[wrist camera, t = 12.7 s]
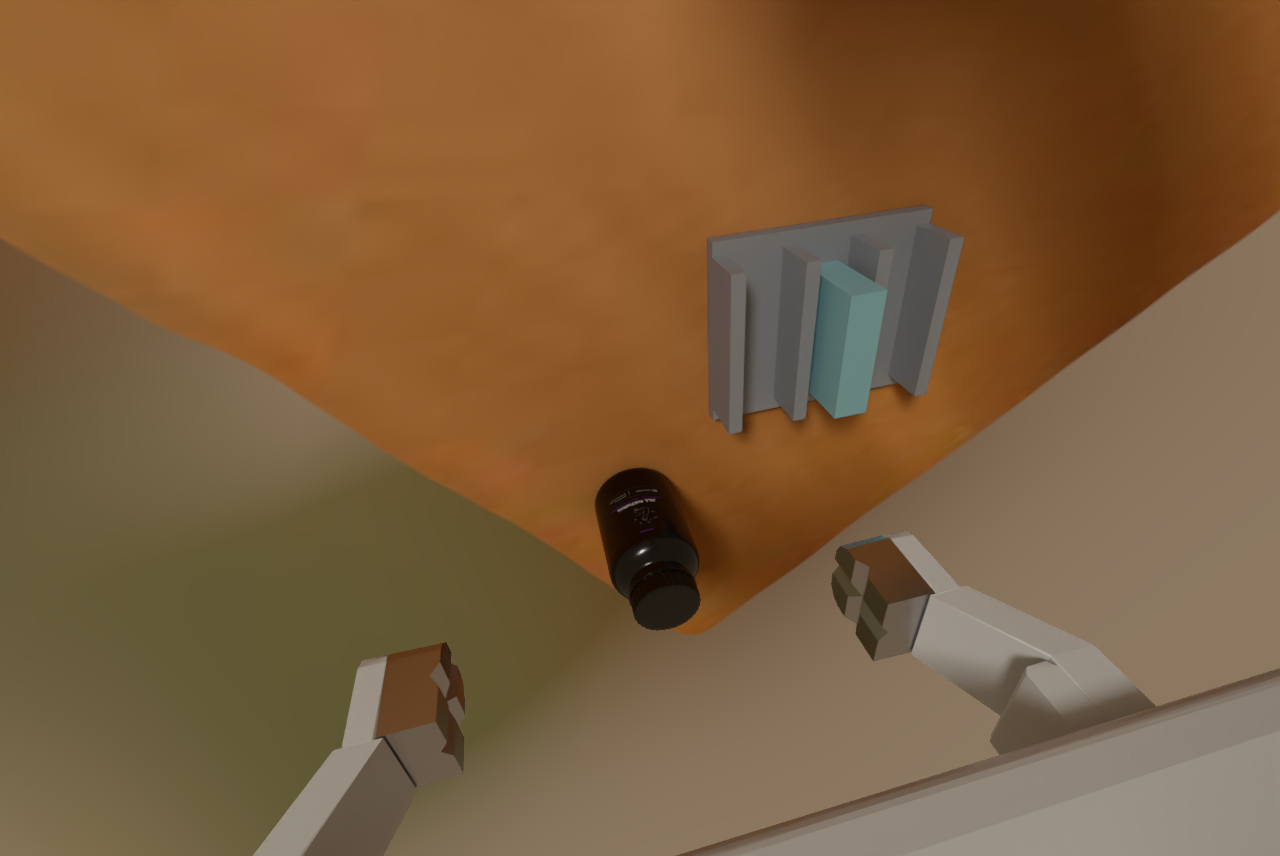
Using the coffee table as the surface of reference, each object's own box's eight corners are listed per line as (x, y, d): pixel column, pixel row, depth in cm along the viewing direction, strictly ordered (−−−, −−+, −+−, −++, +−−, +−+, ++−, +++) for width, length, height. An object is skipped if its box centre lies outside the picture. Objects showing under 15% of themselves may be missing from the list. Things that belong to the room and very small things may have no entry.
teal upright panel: (806, 265, 40) (851, 296, 35) (837, 260, 40) (887, 290, 35) (795, 378, 45) (834, 418, 40) (824, 372, 45) (865, 412, 40)
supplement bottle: (629, 451, 46) (669, 559, 36) (686, 486, 50) (736, 593, 40) (576, 507, 48) (600, 623, 38) (634, 537, 52) (670, 651, 42)
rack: (707, 238, 38) (731, 258, 34) (923, 205, 40) (968, 220, 37) (709, 413, 46) (728, 445, 42) (889, 377, 48) (923, 404, 45)
